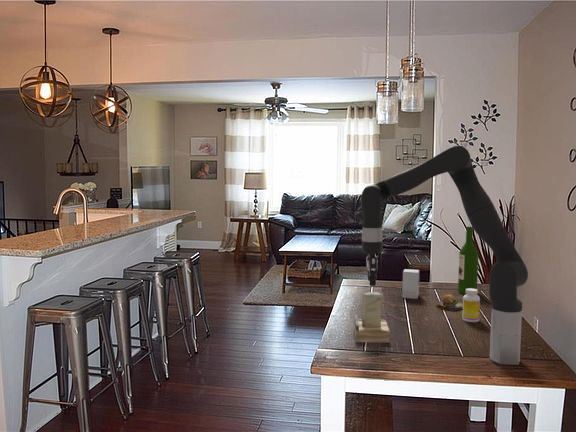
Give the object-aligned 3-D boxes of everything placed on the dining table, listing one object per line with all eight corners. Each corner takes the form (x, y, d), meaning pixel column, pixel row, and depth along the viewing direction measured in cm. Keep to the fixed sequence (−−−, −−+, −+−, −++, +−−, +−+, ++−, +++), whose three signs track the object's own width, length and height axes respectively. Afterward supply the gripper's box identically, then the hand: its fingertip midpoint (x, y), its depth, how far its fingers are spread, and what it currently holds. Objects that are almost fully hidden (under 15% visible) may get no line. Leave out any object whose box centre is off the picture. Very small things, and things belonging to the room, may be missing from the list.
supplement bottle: (480, 323, 220) (481, 291, 219) (463, 322, 221) (464, 291, 220) (478, 318, 227) (479, 288, 225) (461, 317, 228) (462, 287, 227)
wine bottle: (454, 291, 273) (456, 226, 269) (469, 289, 275) (471, 225, 272) (465, 295, 264) (467, 228, 261) (480, 294, 267) (483, 227, 263)
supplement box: (417, 299, 258) (418, 272, 256) (401, 297, 260) (402, 271, 258) (419, 295, 265) (419, 269, 263) (403, 294, 267) (404, 268, 265)
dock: (389, 342, 197) (389, 326, 196) (355, 341, 198) (356, 325, 197) (385, 330, 211) (385, 315, 210) (354, 329, 212) (354, 314, 211)
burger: (469, 309, 241) (470, 293, 240) (447, 312, 237) (448, 295, 236) (452, 302, 252) (452, 287, 251) (430, 305, 248) (431, 289, 247)
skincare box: (365, 327, 202) (365, 295, 200) (361, 324, 206) (362, 292, 205) (381, 326, 203) (382, 294, 201) (377, 323, 207) (378, 291, 206)
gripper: (384, 242, 193) (383, 287, 195) (380, 237, 207) (380, 279, 209) (363, 242, 194) (362, 287, 195) (360, 236, 208) (360, 278, 210)
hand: (371, 283), depth 202 cm, fingers open, 8 cm apart
